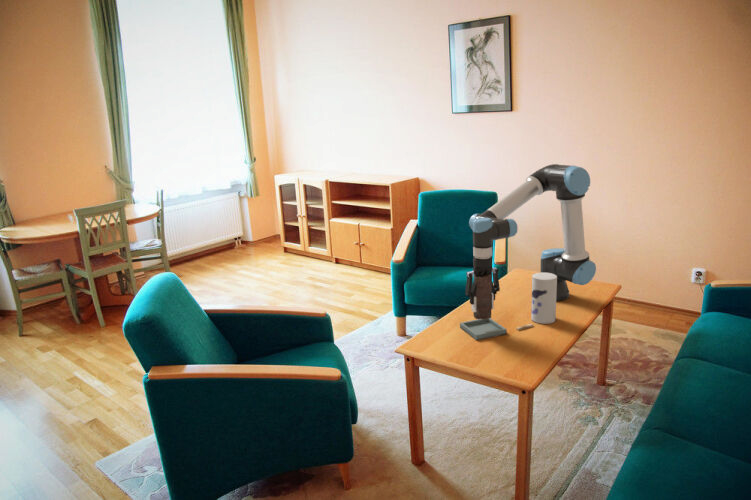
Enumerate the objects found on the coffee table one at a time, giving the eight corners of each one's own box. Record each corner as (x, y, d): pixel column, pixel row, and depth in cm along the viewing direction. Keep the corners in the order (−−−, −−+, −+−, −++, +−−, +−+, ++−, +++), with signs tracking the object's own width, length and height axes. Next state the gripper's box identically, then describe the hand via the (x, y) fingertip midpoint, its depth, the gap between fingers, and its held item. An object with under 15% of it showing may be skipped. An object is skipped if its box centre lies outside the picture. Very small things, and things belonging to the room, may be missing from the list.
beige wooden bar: (531, 326, 222) (531, 323, 222) (533, 327, 221) (533, 324, 221) (516, 330, 219) (516, 327, 219) (518, 331, 218) (518, 328, 218)
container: (527, 320, 227) (528, 276, 222) (537, 313, 234) (538, 270, 229) (549, 326, 220) (550, 281, 215) (559, 318, 227) (561, 274, 222)
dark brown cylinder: (491, 322, 214) (491, 275, 209) (473, 322, 215) (473, 275, 210) (491, 315, 221) (491, 270, 216) (473, 314, 223) (473, 269, 217)
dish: (488, 321, 228) (488, 317, 228) (506, 334, 215) (506, 329, 215) (459, 327, 224) (459, 322, 223) (476, 340, 211) (476, 335, 211)
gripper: (499, 250, 217) (499, 302, 223) (455, 257, 212) (456, 310, 218) (509, 255, 211) (508, 308, 217) (464, 262, 205) (464, 316, 211)
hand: (482, 309), depth 217 cm, fingers closed on dark brown cylinder, 7 cm apart
